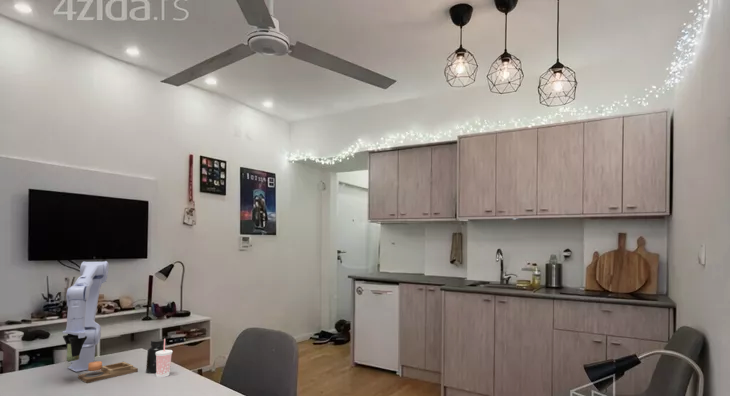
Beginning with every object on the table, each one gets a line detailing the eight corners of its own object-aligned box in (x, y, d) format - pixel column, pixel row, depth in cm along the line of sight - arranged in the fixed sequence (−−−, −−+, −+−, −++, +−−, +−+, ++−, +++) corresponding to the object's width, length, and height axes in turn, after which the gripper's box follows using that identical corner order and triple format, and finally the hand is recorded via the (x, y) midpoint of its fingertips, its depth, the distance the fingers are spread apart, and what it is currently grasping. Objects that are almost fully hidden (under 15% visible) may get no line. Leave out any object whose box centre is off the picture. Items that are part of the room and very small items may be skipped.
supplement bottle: (157, 374, 167) (159, 342, 168) (142, 372, 168) (143, 341, 170) (168, 368, 174) (170, 338, 175) (153, 367, 175) (155, 338, 176)
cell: (64, 359, 159) (66, 341, 159) (77, 357, 162) (78, 339, 162) (68, 361, 156) (69, 343, 157) (81, 359, 159) (82, 341, 160)
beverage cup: (160, 372, 169) (162, 336, 170) (174, 373, 168) (176, 337, 169) (150, 377, 163) (152, 340, 164) (165, 378, 162) (167, 340, 163)
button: (86, 369, 162) (86, 363, 162) (98, 366, 165) (99, 360, 165) (90, 371, 159) (91, 365, 159) (103, 369, 162) (104, 362, 163)
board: (77, 378, 161) (78, 370, 162) (127, 367, 175) (128, 360, 176) (86, 383, 156) (87, 375, 156) (137, 371, 170) (138, 364, 170)
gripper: (57, 317, 162) (54, 353, 161) (70, 321, 153) (67, 360, 152) (78, 314, 167) (76, 350, 166) (92, 319, 158) (89, 356, 157)
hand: (73, 355), depth 159 cm, fingers closed on cell, 4 cm apart
